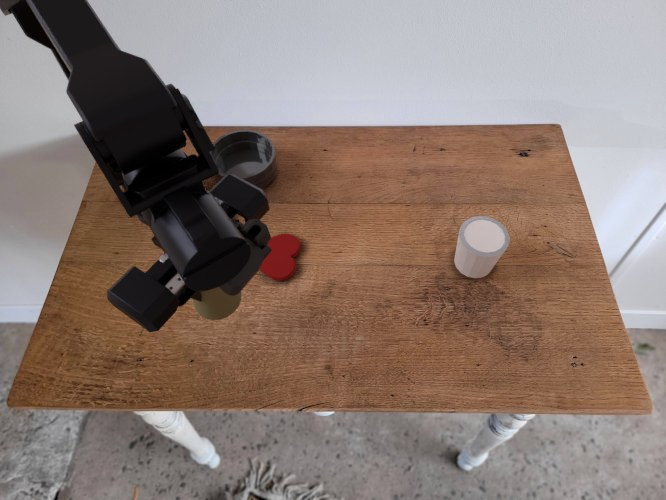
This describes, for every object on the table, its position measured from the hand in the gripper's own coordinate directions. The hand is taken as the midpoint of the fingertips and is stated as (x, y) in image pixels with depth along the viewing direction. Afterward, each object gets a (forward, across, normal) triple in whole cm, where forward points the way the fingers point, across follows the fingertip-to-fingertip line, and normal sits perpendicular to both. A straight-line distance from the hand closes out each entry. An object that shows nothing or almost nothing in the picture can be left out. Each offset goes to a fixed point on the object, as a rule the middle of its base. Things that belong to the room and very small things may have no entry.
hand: (211, 284), depth 58 cm
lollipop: (+12, +10, +5) cm, 16 cm away
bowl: (+12, +23, +16) cm, 31 cm away
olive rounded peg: (+4, 0, 0) cm, 4 cm away
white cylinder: (+12, +28, -24) cm, 38 cm away
